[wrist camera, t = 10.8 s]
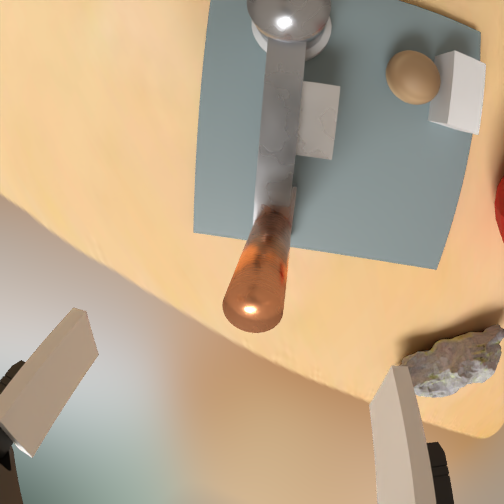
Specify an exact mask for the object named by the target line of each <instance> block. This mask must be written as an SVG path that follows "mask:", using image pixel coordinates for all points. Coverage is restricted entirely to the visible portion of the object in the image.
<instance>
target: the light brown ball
mask: <svg viewBox="0 0 504 504" xmlns="http://www.w3.org/2000/svg"><path fill="white" fill-rule="evenodd" d="M386 80H387V84H388V86H389V88H390V89H391V91H392V92H393V94H394V95H395V96H396V97H398V98H399V99H401V100H402V101H404V102H406V103H409V104H413V105H421V104H425V103H428V102H430V101H431V100H432V99H434V98H435V97H436V95H437V94H438V92H439V89H440V84H441V80H440V74H439V71H438V69H437V67H436V65H435V64H434V62H433V61H432V60H431V59H430V58H428V57H427V56H426V55H424V54H422V53H420V52H417V51H411V50H406V51H402V52H399V53H397V54H395V55H394V56H393V57H392V58H391V59H390V60H389V62H388V64H387V67H386Z"/></svg>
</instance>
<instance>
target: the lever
mask: <svg viewBox="0 0 504 504" xmlns="http://www.w3.org/2000/svg"><path fill="white" fill-rule="evenodd" d="M247 10H248V13H249V15H250V17H251V19H252V21H253V22H254V24H255V26H256V28H257V29H258V31H259V33H260V35H261V36H262V38H263V39H264V40H265V41H266V42H267V54H266V66H265V78H264V90H263V101H262V113H261V125H260V137H259V149H258V161H257V173H256V185H255V197H254V203H255V204H254V216H253V227H252V230H251V232H250V235H249V237H248V239H247V242H246V244H245V247H244V249H243V252H242V254H241V257H240V259H239V262H238V264H237V267H236V269H235V272H234V274H233V277H232V279H231V282H230V284H229V287H228V289H227V292H226V294H225V297H224V300H223V311H224V314H225V316H226V318H227V319H228V320H229V322H230V323H231V324H233V325H234V326H235V327H237V328H239V329H241V330H243V331H246V332H252V333H260V332H265V331H268V330H270V329H272V328H274V327H275V326H276V325H277V324H278V323H279V322H280V320H281V318H282V315H283V309H284V299H285V290H286V281H287V271H288V261H289V250H290V239H291V230H292V223H293V215H294V208H295V200H296V192H297V184H295V183H293V174H294V165H295V156H296V155H300V156H308V157H315V158H322V159H328V160H332V155H333V147H334V139H335V131H336V123H337V114H338V105H339V96H340V86H335V85H328V84H322V83H314V82H307V81H303V76H304V65H305V53H306V50H308V49H310V48H312V47H313V46H315V45H316V44H317V43H318V42H319V41H320V40H321V38H322V36H323V34H324V31H325V28H326V25H327V21H328V18H329V15H330V12H331V0H247Z"/></svg>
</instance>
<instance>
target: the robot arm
mask: <svg viewBox="0 0 504 504" xmlns="http://www.w3.org/2000/svg"><path fill="white" fill-rule="evenodd" d="M98 355H99V354H98V351H97V347H96V344H95V341H94V338H93V334H92V330H91V327H90V323H89V320H88V316H87V312H86V311H83V310H80V309H77V308H73V309H72V310H71V311H70V312H69V313H68V314H67V315H66V317H65V318H64V319H63V320H62V321H61V322H60V323H59V324H58V325H57V326H56V328H55V329H54V330H53V331H52V332H51V333H50V334H49V336H48V337H47V338H46V339H45V340H44V341H43V342H42V344H41V345H40V346H39V347H38V348H37V349H36V351H35V352H34V353H33V354H32V355H31V357H30V358H29V359H28V360H27V361H26V362H24V361H22V360H21V361H19V362H18V363H16V364H15V365H13V366H12V367H11V368H10V369H9V370H8V372H7V373H6V374H5V376H4V377H3V378H2V379H1V380H0V504H23V501H22V497H21V493H20V487H19V483H18V477H17V471H16V466H15V459H14V452H13V449H12V446H11V445H12V444H13V443H14V444H15V445H16V446H17V447H18V448H19V449H20V450H22V451H23V452H25V453H26V454H28V455H29V456H31V457H32V458H33V456H34V455H35V453H36V451H37V449H38V448H39V446H40V444H41V443H42V441H43V439H44V438H45V436H46V434H47V433H48V431H49V430H50V428H51V426H52V424H53V423H54V421H55V420H56V418H57V417H58V415H59V413H60V412H61V411H62V409H63V407H64V406H65V404H66V403H67V401H68V399H69V398H70V397H71V395H72V393H73V392H74V390H75V389H76V387H77V386H78V384H79V383H80V381H81V380H82V378H83V377H84V375H85V374H86V372H87V371H88V370H89V368H90V367H91V365H92V364H93V362H94V361H95V359H96V358H97V356H98ZM369 407H370V415H371V424H372V433H373V444H374V455H375V468H376V484H377V504H454V500H453V494H452V488H451V482H450V477H449V476H448V474H449V471H448V467H447V461H446V457H445V453H444V451H443V449H442V448H441V446H440V444H439V443H438V442H433V443H426V438H425V434H424V429H423V425H422V420H421V416H420V411H419V407H418V403H417V399H416V395H415V391H414V387H413V384H412V380H411V376H410V373H409V369H408V366H391V368H390V370H389V372H388V373H387V375H386V377H385V379H384V381H383V382H382V384H381V386H380V388H379V389H378V391H377V393H376V395H375V396H374V398H373V400H372V401H371V403H370V405H369Z"/></svg>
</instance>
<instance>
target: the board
mask: <svg viewBox="0 0 504 504" xmlns="http://www.w3.org/2000/svg"><path fill="white" fill-rule="evenodd" d="M480 40H481V32H479V31H477V30H475V29H473V28H470V27H468V26H466V25H464V24H462V23H459V22H457V21H455V20H452V19H450V18H447V17H445V16H442V15H440V14H437V13H435V12H432V11H429V10H426V9H423V8H421V7H418V6H415V5H412V4H408V3H405V2H402V1H399V0H331V12H330V15H329V18H328V21H327V25H326V28H325V31H324V34H323V36H322V38H321V40H320V41H319V42H318V43H317V44H316V45H315V46H313V47H312V48H310V49H308V50H306V53H305V65H304V76H303V81H307V82H314V83H322V84H328V85H335V86H340V96H339V105H338V114H337V123H336V131H335V139H334V147H333V155H332V160H328V159H322V158H315V157H308V156H300V155H296V156H295V165H294V174H293V183H295V184H297V192H296V200H295V208H294V215H293V223H292V230H291V239H290V247H295V248H302V249H309V250H315V251H322V252H328V253H335V254H341V255H348V256H354V257H360V258H367V259H373V260H379V261H386V262H392V263H398V264H404V265H411V266H417V267H423V268H429V269H435V270H436V269H437V267H438V264H439V261H440V258H441V255H442V252H443V249H444V246H445V243H446V240H447V237H448V234H449V231H450V228H451V224H452V221H453V217H454V214H455V210H456V207H457V203H458V199H459V195H460V191H461V187H462V183H463V179H464V174H465V170H466V165H467V160H468V155H469V150H470V145H471V139H472V134H476V135H479V128H480V121H481V114H482V106H483V97H484V86H485V72H486V64H485V63H482V62H480ZM406 50H411V51H417V52H420V53H422V54H424V55H426V56H427V57H428V58H430V59H431V60H432V61H433V62H434V64H435V65H436V67H437V69H438V71H439V74H440V80H441V84H440V89H439V92H438V94H437V95H436V97H435V98H434V99H432V100H431V101H430V102H428V103H425V104H421V105H413V104H409V103H406V102H404V101H402V100H401V99H399V98H398V97H396V96H395V95H394V94H393V92H392V91H391V89H390V88H389V86H388V84H387V80H386V67H387V64H388V62H389V60H390V59H391V58H392V57H393V56H394V55H395V54H397V53H399V52H402V51H406ZM266 54H267V42H266V41H265V40H264V39H263V38H262V36H261V35H260V33H259V31H258V29H257V28H256V26H255V24H254V22H253V21H252V19H251V17H250V15H249V13H248V10H247V0H211V2H210V9H209V17H208V25H207V34H206V42H205V52H204V61H203V72H202V82H201V94H200V106H199V120H198V135H197V152H196V172H195V196H194V233H200V234H207V235H214V236H221V237H228V238H235V239H242V240H247V239H248V237H249V235H250V232H251V230H252V227H253V216H254V204H255V203H254V197H255V185H256V173H257V161H258V149H259V137H260V125H261V113H262V101H263V90H264V78H265V66H266Z"/></svg>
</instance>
